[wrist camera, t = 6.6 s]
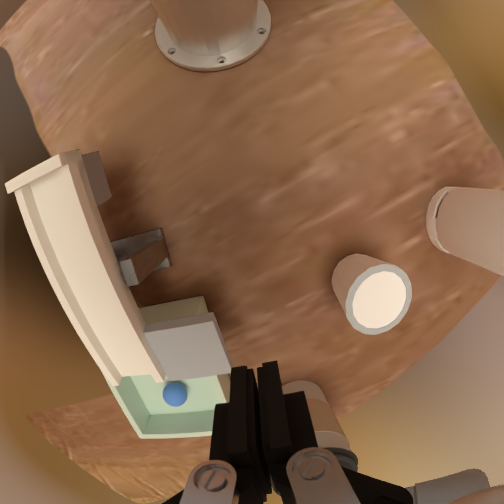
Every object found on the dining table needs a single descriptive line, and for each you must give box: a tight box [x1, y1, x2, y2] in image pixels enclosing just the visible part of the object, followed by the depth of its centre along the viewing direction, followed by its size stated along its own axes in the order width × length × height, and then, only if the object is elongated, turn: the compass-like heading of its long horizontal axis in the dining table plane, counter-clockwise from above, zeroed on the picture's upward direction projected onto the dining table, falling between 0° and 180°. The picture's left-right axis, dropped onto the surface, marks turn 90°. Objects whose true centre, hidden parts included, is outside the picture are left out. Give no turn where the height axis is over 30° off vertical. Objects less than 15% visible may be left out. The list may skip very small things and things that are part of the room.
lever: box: [5, 149, 232, 386], centre depth 22 cm, size 21×12×6 cm, turn 13°
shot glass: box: [331, 253, 412, 335], centre depth 28 cm, size 7×7×7 cm
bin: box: [102, 296, 230, 438], centre depth 31 cm, size 16×13×5 cm
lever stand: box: [110, 228, 172, 286], centre depth 26 cm, size 4×8×10 cm, turn 103°
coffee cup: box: [270, 380, 358, 496], centre depth 27 cm, size 9×9×15 cm
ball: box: [162, 383, 187, 407], centre depth 31 cm, size 3×3×3 cm
